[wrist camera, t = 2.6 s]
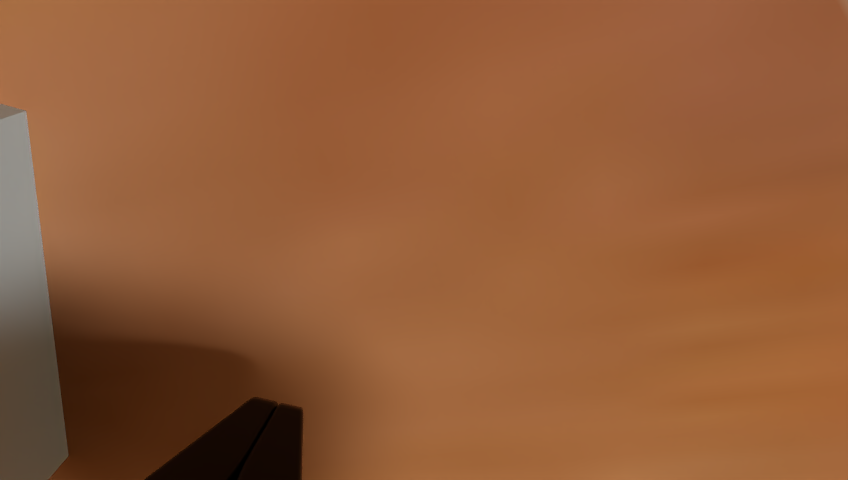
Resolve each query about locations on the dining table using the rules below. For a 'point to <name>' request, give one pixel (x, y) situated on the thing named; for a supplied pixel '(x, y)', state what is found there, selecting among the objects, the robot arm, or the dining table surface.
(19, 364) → the pale grey box
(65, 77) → the dining table surface
